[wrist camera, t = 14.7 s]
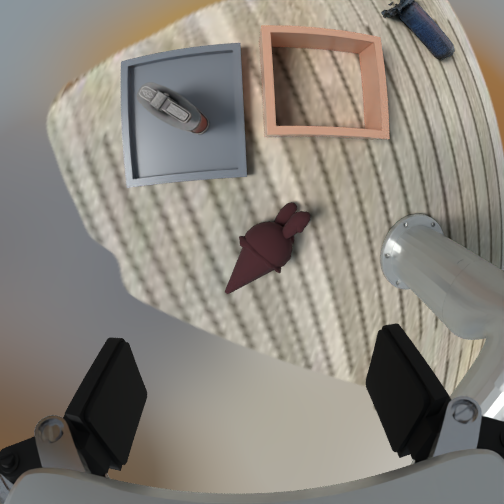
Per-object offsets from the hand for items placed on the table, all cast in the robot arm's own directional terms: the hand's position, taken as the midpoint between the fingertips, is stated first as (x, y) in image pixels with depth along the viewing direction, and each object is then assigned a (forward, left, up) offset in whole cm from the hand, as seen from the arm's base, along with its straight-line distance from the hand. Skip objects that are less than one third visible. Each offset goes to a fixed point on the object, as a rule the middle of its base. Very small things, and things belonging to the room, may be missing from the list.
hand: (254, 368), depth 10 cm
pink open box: (-10, -16, -30) cm, 36 cm away
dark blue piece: (-28, -29, -31) cm, 51 cm away
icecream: (-2, +6, -31) cm, 31 cm away
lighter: (+8, -13, -30) cm, 33 cm away
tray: (+8, -13, -30) cm, 34 cm away
